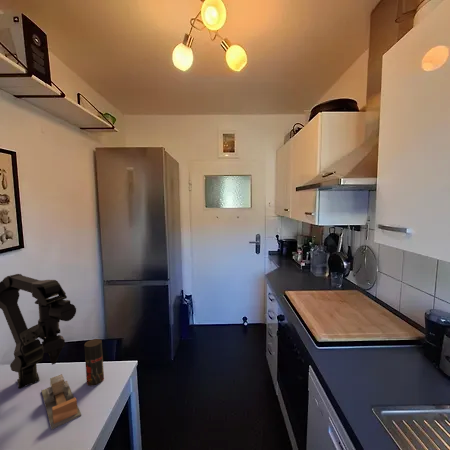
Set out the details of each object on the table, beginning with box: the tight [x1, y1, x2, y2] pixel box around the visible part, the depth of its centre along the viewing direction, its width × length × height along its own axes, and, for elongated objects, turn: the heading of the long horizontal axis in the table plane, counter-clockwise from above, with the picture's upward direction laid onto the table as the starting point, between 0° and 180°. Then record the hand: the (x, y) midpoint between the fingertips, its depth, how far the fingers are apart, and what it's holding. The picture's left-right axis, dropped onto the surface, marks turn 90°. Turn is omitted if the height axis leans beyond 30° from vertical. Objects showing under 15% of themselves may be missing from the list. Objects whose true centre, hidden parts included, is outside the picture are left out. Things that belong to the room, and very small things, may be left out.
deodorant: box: [83, 338, 105, 387], centre depth 102 cm, size 6×6×15 cm
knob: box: [46, 373, 70, 402], centre depth 94 cm, size 4×6×6 cm, turn 131°
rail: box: [41, 381, 82, 430], centre depth 91 cm, size 22×8×5 cm, turn 41°
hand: (51, 358), depth 98 cm, fingers open, 9 cm apart
